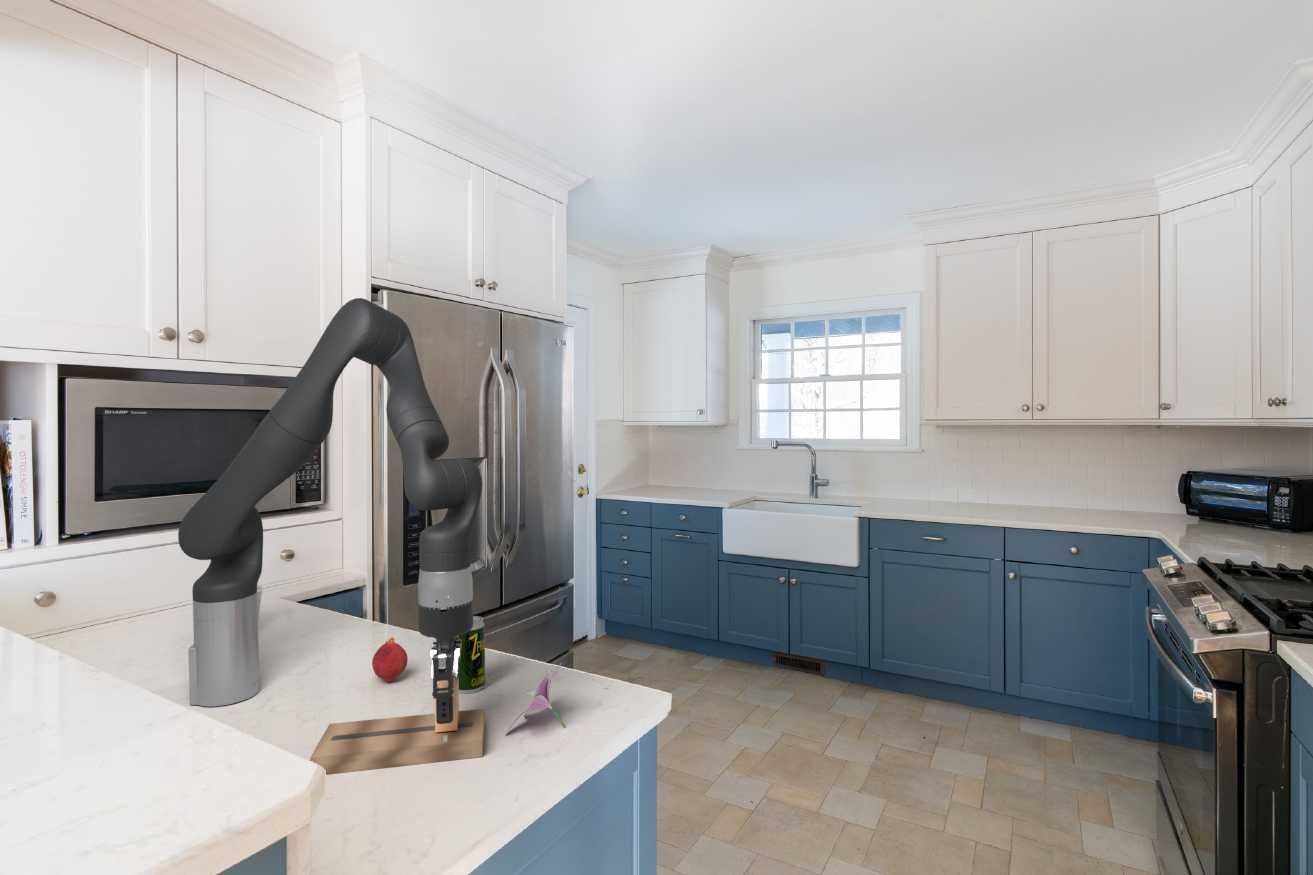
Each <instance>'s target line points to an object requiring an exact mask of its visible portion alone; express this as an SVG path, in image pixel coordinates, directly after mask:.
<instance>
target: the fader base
mask: <svg viewBox="0 0 1313 875" xmlns="http://www.w3.org/2000/svg"><path fill="white" fill-rule="evenodd" d="M485 715H486V714H485V708H478V709H469V710H459V722H458V728H457V730H453V731H443V732H435V713H427V714H416V715H407V716H395V717H385V718H375V719H365V720H355V721H343V722H336V723H335V722H333V723H332V722H331V723H329V724H328V725H327V728H326V729H325V731H324V733H323V734H322V736H321V737H320V739H319V741H318V743H317V745H316V746H315V749H314V750H313V752H312V753H311V756H310V757H309V762H310V761H313V762H314V763H317V764H318V765H320V766H322V767H323V768H324V769H325V770H326V775H332V774H333V775H334V774H341V773H342V774H343V773H350V772H359V771H360V772H361V771H369V770H378V769H386V768H387V769H388V768H396V767H397V768H398V767H403V766H404V767H405V766H415V765H420V764H421V765H422V764H431V763H441V762H450V761H458V760H468V759H477V758H483V753H484V739H485V726H486V725H485V722H486V721H485V720H486V718H485Z"/></svg>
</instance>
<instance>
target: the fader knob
mask: <svg viewBox="0 0 1313 875" xmlns="http://www.w3.org/2000/svg"><path fill="white" fill-rule="evenodd" d="M439 688H448V681H447V680H443V681H440V682H439ZM454 690H455V692H454V694H453V721H452V722H451V723H446V724H438V723H437V722H436V699H434V714H435V732H443V731H453V730H457V728H458V722H459V711H460V698H459V697H460V696H459V694H460V693H459V678H457V679H455V680H454Z"/></svg>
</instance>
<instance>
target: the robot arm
mask: <svg viewBox="0 0 1313 875" xmlns="http://www.w3.org/2000/svg"><path fill="white" fill-rule="evenodd" d="M310 353H311V354H310V355H309V357H308V358H307V360H306V362H305V363H304V364H303V366H302V367H301V369H300V370H299V372H298V373H297V375H296V376H295V378H294V379H293V380H292V382H290V384H289V386H288V387H287V388H286V390H285V391H284V393H283V394H282V395H281V396H280V398H279V399H278V400H277V401H276V403H275V404H274V405H273V406H272V407H271V408H270V410H269V412H268V413H267V414H265V417H263V419H262V420H261V422H260V423H259V425H258V426H257V427H256V428H255V431H254V432H253V434H252V435H251V436H250V438H249V439H248V441H247V442H245V444H244V446H243V447H242V448H241V449H240V450H239V452H238V454H236V455H235V457H234V458H233V460H232V461H231V463H229V466H228V467H227V468H226V469H225V471H224V472H223V473H222V475H221V476H220V477H219V478H217V480H216V481H215V482H214V484H212V485H211V487H210V488H208V489H207V490H206V492H205V493H204V494H202V496H201V497H200V498H199V499H198V500H197V501H196V502H195V503H194V505H192V507H190V509H189V510H188V511H187V512H186V514H184V516H183V518H182V520H181V523H180V524H179V527H178V528H179V529H178V533H177V536H178V537H177V539H178V546H179V547H180V549H181V551H182V552H183V553H184V554H185V555H186V556H187V557H189V558H191V559H194V560H197V561H198V560H199V561H209V560H210V562H209V565H208V567H207V568H206V570H205V571H204V572H203V574H202V575H200V577H198V578H197V579H196V580H195V582H193V584H192V589H191V590H192V592H191V593H192V614H193V616H192V618H193V619H192V621H193V622H192V624H193V644H192V645H191V646H189V648H188V676H189V678H188V679H189V682H188V683H189V684H188V685H189V686H188V687H189V705H190V706H194V705H195V706H196V705H197V706H201V707H221V706H222V707H223V706H227V705H232V704H235V703H236V704H237V703H239V702H240V703H241V702H242V701H245V700H248V699H249V698H252V697H253V696H256V695H257V694H258V693H259V691H260V656H259V655H260V653H259V650H260V649H259V647H260V646H259V621H258V602H257V585H258V582H259V580H260V578H261V575H262V571H263V556H264V555H263V554H264V527H263V520H262V517H261V515H260V514H261V513H260V512H259V510H258V509H257V507H256V505H257V504H258V503H259V502H260V501H261V500H262V499H263V498H264V497H265V496H267V495H268V494H269V493H271V492H272V491H274V489H276V488H277V487H279V486H280V485H281V484H283V483H284V482H285V481H286V480H288V479H290V478H291V477H292V476H293V475H295V474H296V473H297V472H298V471H299V470H301V468H303V467H304V466H305V465H306V464H307V463H308V461H309V460H311V458H312V457H313V456H314V454H315V453H316V451H317V450H318V449H319V448H320V447H321V445H322V444H323V442H324V441H325V439H326V438H327V437H328V436H329V434H330V431H331V429H332V425H333V417H334V416H333V414H334V392H335V388H336V384H337V382H338V380H339V378H340V376H341V375H342V373H343V371H344V370H345V368H346V367H347V365H348V364H349V363H350V362H351V360H352V359H353V358H355V359H358V360H360V361H362V362H364V363H367V364H369V365H372V366H375V367H377V368H378V370H379V371H380V372H381V373H382V375H383V376H384V377H385V379H386V381H387V383H388V385H389V388H390V389H389V394H388V398H387V402H386V409H385V411H386V417H387V421H388V424H389V427H390V430H391V432H392V434H393V437H394V438H395V440H396V443H397V445H398V448H399V451H400V454H401V459H402V460H401V461H402V468H403V469H402V470H403V479H404V480H403V484H404V493H405V496H406V498H407V501H409V503H410V504H411V505H412V506H413V507H415V509H418V510H419V511H423V512H426V511H427V512H429V511H437V510H447V511H446V513H445V515H444V517H443V519H442V520H441V521H440V522H437V523H435V524H433V525H430V526H428V527H426V528H424V529H423V530H422V531H421V532H420V533H419V540H418V543H419V545H418V546H419V547H418V548H419V551H418V552H419V554H418V556H419V573H418V582H417V598H418V604H417V605H418V632H419V634H420V635H422V636H424V637H426V638H432V639H433V638H434V639H435V640H436V641H433V642H432V647H431V648H430V658H431V663H432V664H431V679H432V694H431V696H432V699H434V700H435V699H436V722H437V723H438V724H446V723H451V722H452V721H453V694H454V692H455V690H454V680H455V679H457V677H458V669H459V665H458V664H459V663H460V661H461V647H462V641H461V640H459V635H462V634H464V633H467V632H468V631H470V630H471V629H472V627H473V616H474V585H473V584H474V583H473V582H474V581H473V580H474V579H473V575H472V564H471V562H472V561H471V538H472V533H473V529H474V524H475V520H476V518H477V517H476V516H477V513H478V512H477V511H478V509H479V505H480V501H481V497H482V492H483V479H482V475H481V472H480V470H479V468H478V466H477V465H476V463H474V462H473V461H472V460H470V459H465V458H452V459H438V458H440V457H441V456H442V455H444V454H445V453H446V452H447V450H448V448H449V446H450V438H449V434H448V432H447V430H446V428H445V426H444V423H443V421H442V420H441V418H440V415H439V414H438V412H437V410H436V408H435V405H434V404H433V402H432V399H431V397H430V395H429V392H428V390H427V387H426V384H425V381H424V378H423V374H422V370H421V366H420V363H419V358H418V356H417V355H418V354H417V352H416V347H415V342H414V340H413V336H412V332H411V330H410V328H409V326H408V324H407V322H405V320H404V319H402V318H401V317H400V316H398V315H397V314H395V313H393V312H391V311H389V310H388V309H385V308H384V307H382V306H380V305H378V304H376V303H375V302H373V301H370V300H369V299H365V298H362V297H356V298H353V299H351V300H349V301H347V302H346V303H344V304H343V305H342V306H341V307H340V308H339V309H338V310H337V312H336V313H335V315H334V316H333V317H332V319H331V320H330V322H329V324H328V325H327V326H326V328H325V330H324V332H323V333H322V335H321V336H320V337H319V340H318V341H317V343H316V345H315V347H314V348H313V350H312V352H310ZM436 459H437V460H436ZM443 680H447V681H448V688H439V682H440V681H443Z"/></svg>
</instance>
